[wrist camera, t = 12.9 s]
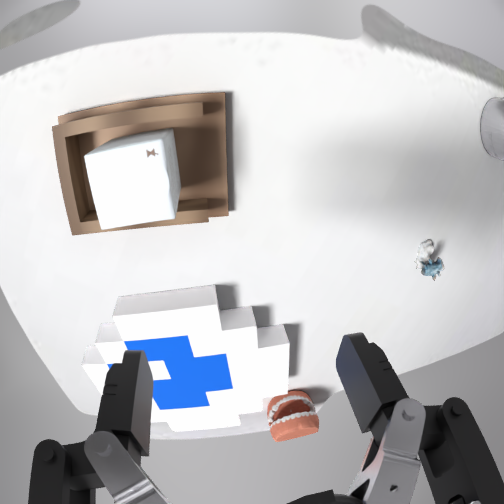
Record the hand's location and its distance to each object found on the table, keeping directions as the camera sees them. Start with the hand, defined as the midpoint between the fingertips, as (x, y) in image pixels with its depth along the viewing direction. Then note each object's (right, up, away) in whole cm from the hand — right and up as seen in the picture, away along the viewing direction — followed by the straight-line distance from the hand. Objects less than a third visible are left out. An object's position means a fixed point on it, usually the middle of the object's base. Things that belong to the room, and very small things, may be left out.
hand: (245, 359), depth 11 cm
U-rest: (-10, +13, +15) cm, 22 cm away
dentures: (+7, -22, +38) cm, 45 cm away
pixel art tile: (-9, -12, +30) cm, 34 cm away
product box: (-10, +12, +15) cm, 21 cm away
